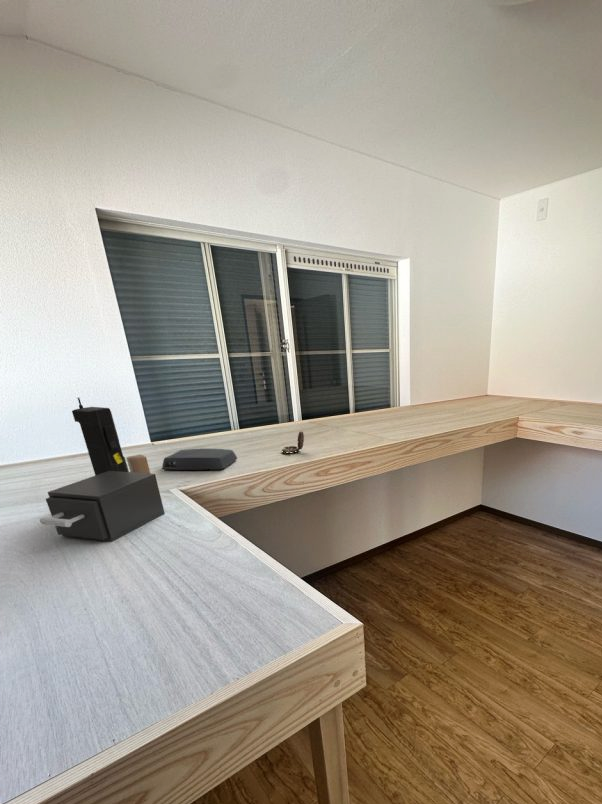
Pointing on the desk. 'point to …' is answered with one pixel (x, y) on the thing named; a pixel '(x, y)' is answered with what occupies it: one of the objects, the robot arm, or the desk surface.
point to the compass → (294, 448)
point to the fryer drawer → (76, 517)
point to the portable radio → (100, 439)
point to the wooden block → (138, 464)
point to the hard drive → (199, 459)
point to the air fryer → (119, 499)
